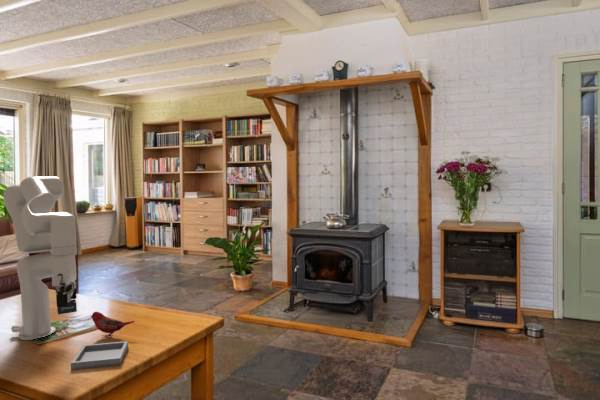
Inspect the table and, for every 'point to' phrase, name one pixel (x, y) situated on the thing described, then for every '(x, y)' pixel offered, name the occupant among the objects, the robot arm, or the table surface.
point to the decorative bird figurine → (107, 323)
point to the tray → (100, 355)
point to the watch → (71, 303)
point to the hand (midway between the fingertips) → (66, 302)
